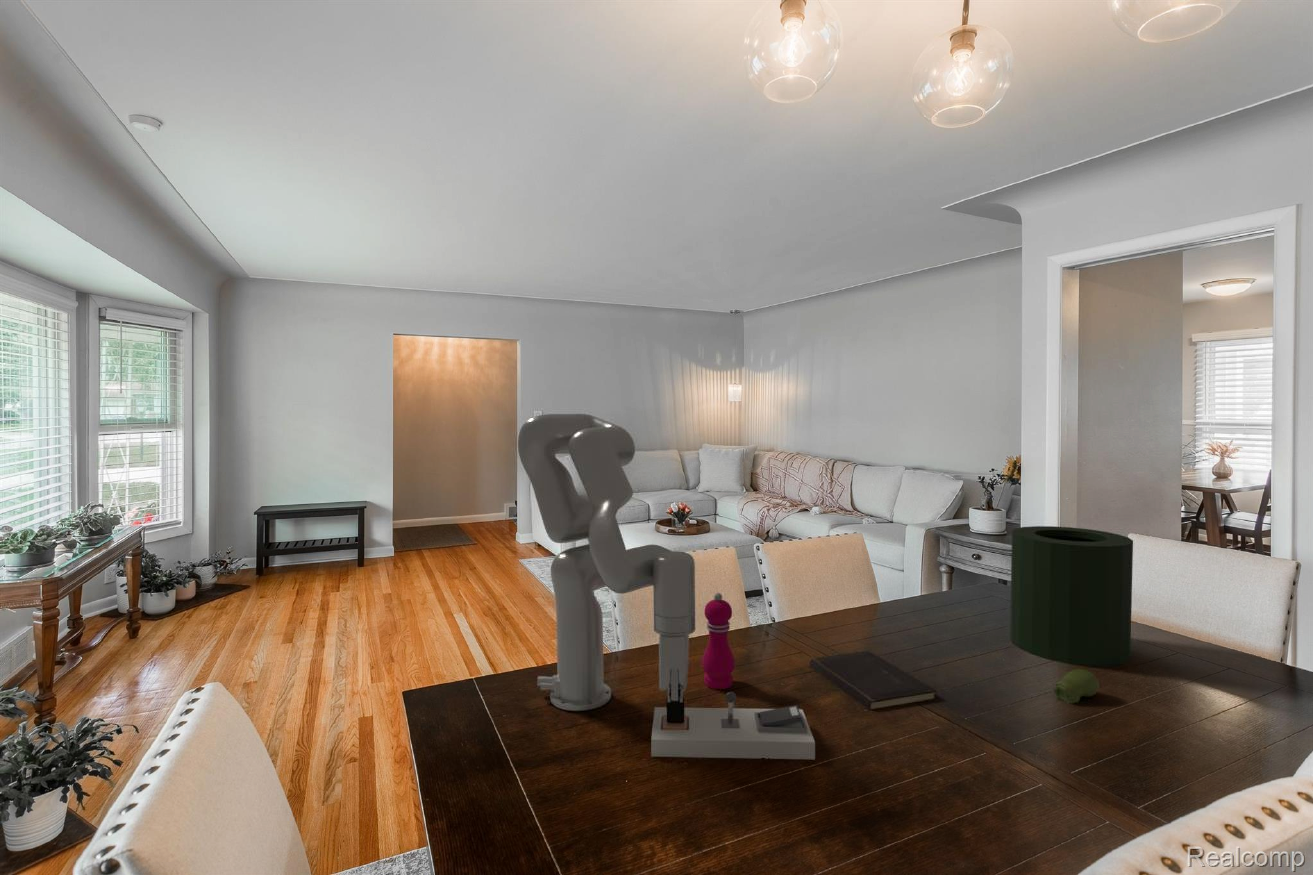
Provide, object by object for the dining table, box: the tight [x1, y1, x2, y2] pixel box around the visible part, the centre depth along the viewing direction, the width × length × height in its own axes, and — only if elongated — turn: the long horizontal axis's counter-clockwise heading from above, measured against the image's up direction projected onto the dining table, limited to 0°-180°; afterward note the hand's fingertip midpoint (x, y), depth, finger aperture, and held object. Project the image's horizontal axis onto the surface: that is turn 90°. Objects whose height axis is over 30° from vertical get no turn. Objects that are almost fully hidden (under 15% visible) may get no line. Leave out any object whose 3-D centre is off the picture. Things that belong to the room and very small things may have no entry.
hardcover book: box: [809, 650, 938, 711], centre depth 140 cm, size 16×23×2 cm
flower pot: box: [1009, 525, 1134, 668], centre depth 159 cm, size 25×25×28 cm
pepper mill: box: [701, 592, 736, 690], centre depth 139 cm, size 7×7×20 cm
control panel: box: [650, 706, 816, 760], centre depth 116 cm, size 28×12×4 cm, turn 87°
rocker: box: [759, 704, 802, 727], centre depth 115 cm, size 7×4×1 cm, turn 87°
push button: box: [663, 715, 687, 730], centre depth 116 cm, size 4×4×3 cm
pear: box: [1053, 668, 1100, 705], centre depth 132 cm, size 6×5×10 cm
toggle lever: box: [725, 691, 737, 724], centre depth 114 cm, size 2×2×7 cm
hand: (675, 720), depth 116 cm, fingers closed
